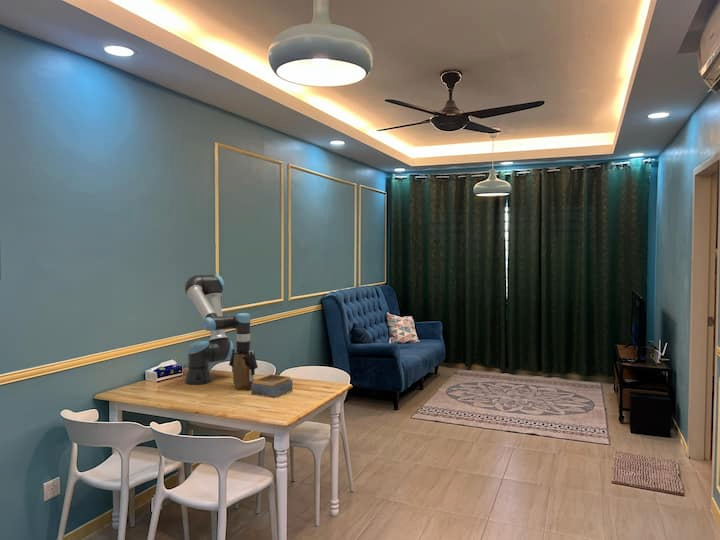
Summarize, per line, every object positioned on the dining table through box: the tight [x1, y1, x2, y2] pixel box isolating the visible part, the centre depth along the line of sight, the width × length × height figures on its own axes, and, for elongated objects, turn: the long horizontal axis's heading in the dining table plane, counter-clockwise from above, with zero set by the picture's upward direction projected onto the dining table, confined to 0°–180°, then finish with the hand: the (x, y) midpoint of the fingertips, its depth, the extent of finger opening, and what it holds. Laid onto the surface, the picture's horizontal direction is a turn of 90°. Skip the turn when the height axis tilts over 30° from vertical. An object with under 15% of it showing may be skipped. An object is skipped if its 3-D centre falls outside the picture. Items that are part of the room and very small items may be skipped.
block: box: [232, 353, 253, 391], centre depth 301 cm, size 11×8×20 cm
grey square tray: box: [250, 373, 293, 398], centre depth 293 cm, size 16×16×8 cm
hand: (243, 379), depth 301 cm, fingers closed on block, 11 cm apart
